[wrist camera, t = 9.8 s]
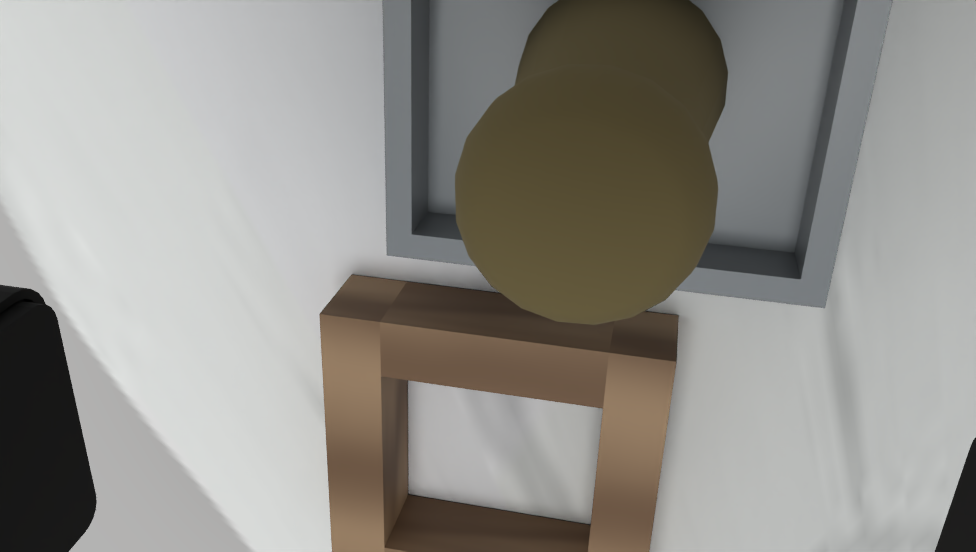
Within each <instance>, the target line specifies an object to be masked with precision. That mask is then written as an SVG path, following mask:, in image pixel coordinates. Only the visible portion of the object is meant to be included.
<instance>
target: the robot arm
mask: <svg viewBox="0 0 976 552" xmlns="http://www.w3.org/2000/svg"><path fill="white" fill-rule="evenodd" d="M95 510H96V493H95V489H94V484H93V479H92V475H91V471H90V466H89V461H88V456H87V452H86V447H85V443H84V438H83V434H82V429H81V425H80V421H79V415H78V411H77V406H76V402H75V397H74V393H73V389H72V384H71V380H70V375H69V370H68V366H67V361H66V356H65V352H64V347H63V343H62V338H61V333H60V329H59V325H58V320H57V317H56V314H55V312H54V311H53V310H52V308H51V307H50V306H48V305H46V304H45V302H44V299H43V298H42V297H41V296H40V294H39V293H38V292H35V291H34V290H32V289H27V288H19V287H12V286H4V285H0V552H69V550H70V549H71V548H72V547H73V546H74V545H75V543H76V542H77V541H78V540H79V539H80V537H81V536H82V535H83V534H84V533H85V532H86V530H87V529H88V527H89V525H90V523H91V521H92V519H93V517H94V513H95ZM935 552H976V438H975V439H974V440H973V442H972V445H971V447H970V450H969V453H968V456H967V459H966V462H965V464H964V467H963V470H962V473H961V476H960V479H959V482H958V485H957V488H956V491H955V494H954V497H953V500H952V503H951V506H950V509H949V512H948V515H947V518H946V520H945V523H944V526H943V529H942V532H941V535H940V538H939V541H938V544H937V547H936V550H935Z"/></svg>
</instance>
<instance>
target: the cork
mask: <svg viewBox="0 0 976 552" xmlns="http://www.w3.org/2000/svg"><path fill="white" fill-rule="evenodd" d="M727 80H728V69H727V65H726V61H725V56H724V52H723V48H722V43H721V39H720V38H719V36H718V35H717V33H716V32H715V30H714V28H713V27H712V25H711V24H710V22H709V20H708V19H707V17H706V16H705V14H704V12H703V11H702V10H701V9H699V8H698V7H697V6H696V5H694V4H693V3H692V2H691V1H689V0H558V1H557V2H555V3H554V4H553V5H551V6H550V7H549V8H548V9H547V10H546V12H545V13H544V14H543V16H542V17H541V18H540V20H539V21H538V23H537V24H536V25H535V27H534V28H533V29H532V31H531V32H530V34H529V35H528V39H527V42H526V45H525V48H524V51H523V54H522V57H521V60H520V63H519V67H518V71H517V76H516V81H515V86H513V87H512V88H510V89H509V90H507V91H506V92H505V93H503V94H502V95H500V96H499V97H497V98H496V99H495V100H494V101H493V103H492V104H491V105H490V106H489V107H488V109H487V110H486V112H485V113H484V114H483V116H482V117H481V118H480V120H479V121H478V123H477V124H476V125H475V127H474V128H473V129H472V131H471V132H470V133H469V135H468V136H467V138H466V141H465V144H464V147H463V150H462V154H461V157H460V160H459V163H458V167H457V170H456V173H455V203H456V223H457V226H458V228H459V231H460V234H461V237H462V239H463V242H464V245H465V248H466V250H467V253H468V256H469V257H470V259H471V260H472V261H473V263H474V264H475V265H476V267H477V268H478V269H479V271H480V272H481V273H482V275H483V276H484V277H485V278H486V280H487V281H488V282H489V284H490V285H491V286H492V287H493V288H495V289H496V290H497V291H499V292H500V293H501V294H503V295H504V296H505V297H507V298H508V299H510V300H511V301H512V302H514V303H515V304H516V305H518V306H519V307H520V308H522V309H525V310H527V311H530V312H533V313H535V314H538V315H541V316H543V317H546V318H549V319H551V320H554V321H556V322H567V323H579V324H590V325H597V324H602V323H607V322H612V321H617V320H622V319H627V318H632V317H634V316H636V315H638V314H640V313H642V312H643V311H645V310H647V309H649V308H651V307H653V306H655V305H657V304H659V303H660V302H662V301H664V300H666V299H667V298H668V297H669V296H670V295H671V294H672V292H673V291H674V290H675V289H676V288H677V287H678V286H679V285H680V284H681V283H682V282H683V281H684V280H685V279H686V278H687V277H688V276H689V275H690V274H691V273H692V272H693V270H694V269H695V267H696V266H697V265H698V263H699V260H700V258H701V256H702V254H703V252H704V250H705V248H706V246H707V244H708V241H709V239H710V237H711V235H712V233H713V231H714V227H715V217H716V207H717V197H718V181H717V176H716V172H715V168H714V164H713V160H712V156H711V152H710V148H709V144H708V142H709V140H710V138H711V136H712V134H713V131H714V129H715V127H716V125H717V122H718V120H719V118H720V116H721V113H722V111H723V109H724V107H725V100H726V90H727Z"/></svg>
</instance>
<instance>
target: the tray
mask: <svg viewBox="0 0 976 552" xmlns="http://www.w3.org/2000/svg"><path fill="white" fill-rule="evenodd" d="M557 1H558V0H383V52H384V115H385V178H386V241H387V255H388V256H396V257H405V258H413V259H421V260H429V261H438V262H446V263H454V264H463V265H471V266H476V265H475V264H474V263H473V261H472V260H471V259H470V257H469V256H468V253H467V250H466V248H465V245H464V242H463V239H462V237H461V234H460V231H459V228H458V226H457V223H456V203H455V173H456V170H457V167H458V163H459V160H460V157H461V154H462V150H463V147H464V144H465V141H466V138H467V136H468V135H469V133H470V132H471V131H472V129H473V128H474V127H475V125H476V124H477V123H478V121H479V120H480V118H481V117H482V116H483V114H484V113H485V112H486V110H487V109H488V107H489V106H490V105H491V104H492V103H493V101H494V100H495V99H496V98H497V97H499V96H500V95H502V94H503V93H505V92H506V91H507V90H509V89H510V88H512V87H513V86H515V81H516V76H517V71H518V67H519V63H520V60H521V57H522V54H523V51H524V48H525V45H526V42H527V39H528V35H529V34H530V32H531V31H532V29H533V28H534V27H535V25H536V24H537V23H538V21H539V20H540V18H541V17H542V16H543V14H544V13H545V12H546V10H547V9H548V8H549V7H550V6H551V5H553V4H554V3H555V2H557ZM689 1H691V2H692V3H693V4H694V5H696V6H697V7H698V8H699V9H701V10H702V11H703V12H704V14H705V16H706V17H707V19H708V20H709V22H710V24H711V25H712V27H713V28H714V30H715V32H716V33H717V35H718V36H719V38H720V39H721V43H722V48H723V52H724V56H725V61H726V65H727V69H728V80H727V90H726V100H725V107H724V109H723V111H722V113H721V116H720V118H719V120H718V122H717V125H716V127H715V129H714V131H713V134H712V136H711V138H710V140H709V142H708V144H709V148H710V152H711V156H712V160H713V164H714V168H715V172H716V176H717V181H718V197H717V207H716V217H715V227H714V231H713V233H712V235H711V237H710V239H709V241H708V244H707V246H706V248H705V250H704V252H703V254H702V256H701V258H700V260H699V263H698V265H697V266H696V267H695V269H694V270H693V272H692V273H691V274H690V275H689V276H688V277H687V278H686V279H685V280H684V281H683V282H682V283H681V284H680V285H679V286H678V287H677V288H676V289H675V290H678V291H687V292H695V293H703V294H711V295H720V296H728V297H736V298H745V299H753V300H761V301H770V302H778V303H786V304H794V305H803V306H811V307H819V308H825V305H826V301H827V296H828V291H829V287H830V282H831V278H832V273H833V269H834V264H835V260H836V255H837V251H838V246H839V241H840V237H841V232H842V228H843V223H844V219H845V214H846V210H847V205H848V200H849V196H850V191H851V187H852V182H853V178H854V173H855V169H856V164H857V160H858V155H859V150H860V146H861V141H862V137H863V132H864V128H865V123H866V119H867V114H868V110H869V105H870V100H871V96H872V91H873V87H874V82H875V78H876V73H877V69H878V64H879V59H880V55H881V50H882V46H883V41H884V37H885V32H886V28H887V23H888V19H889V14H890V9H891V5H892V0H689Z"/></svg>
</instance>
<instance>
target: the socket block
mask: <svg viewBox="0 0 976 552" xmlns="http://www.w3.org/2000/svg"><path fill="white" fill-rule="evenodd" d="M320 331H321V350H322V369H323V388H324V407H325V426H326V445H327V464H328V483H329V502H330V521H331V540H332V552H649V549H650V542H651V535H652V528H653V521H654V514H655V507H656V500H657V493H658V486H659V479H660V472H661V465H662V458H663V451H664V444H665V437H666V430H667V424H668V417H669V410H670V403H671V396H672V389H673V382H674V375H675V368H676V359H677V338H678V315H670V314H662V313H654V312H646V311H643V312H642V313H640V314H638V315H636V316H634V317H632V318H627V319H622V320H617V321H612V322H607V323H602V324H597V325H590V324H579V323H567V322H556V321H554V320H551V319H549V318H546V317H543V316H541V315H538V314H535V313H533V312H530V311H527V310H525V309H522V308H520V307H519V306H518V305H516V304H515V303H514V302H512V301H511V300H510V299H508V298H507V297H505V296H504V295H503V294H501V293H494V292H486V291H478V290H470V289H462V288H454V287H446V286H438V285H430V284H422V283H414V282H406V281H398V280H390V279H382V278H374V277H366V276H358V275H351V276H350V277H349V278H348V280H347V281H346V282H345V283H344V285H343V286H342V287H341V288H340V290H339V291H338V292H337V293H336V294H335V296H334V297H333V298H332V299H331V301H330V302H329V303H328V304H327V306H326V307H325V308H324V309H323V310H322V312H321V313H320ZM408 380H410V381H417V382H424V383H430V384H437V385H444V386H451V387H458V388H465V389H472V390H479V391H486V392H493V393H500V394H507V395H514V396H520V397H527V398H534V399H541V400H548V401H555V402H562V403H569V404H576V405H583V406H590V407H597V408H603V414H602V424H601V433H600V442H599V452H598V461H597V471H596V480H595V490H594V499H593V508H592V518H591V525H586V524H580V523H574V522H568V521H562V520H556V519H550V518H545V517H539V516H533V515H527V514H521V513H515V512H509V511H503V510H497V509H491V508H485V507H479V506H473V505H467V504H461V503H455V502H449V501H443V500H437V499H431V498H425V497H419V496H413V495H408Z"/></svg>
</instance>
